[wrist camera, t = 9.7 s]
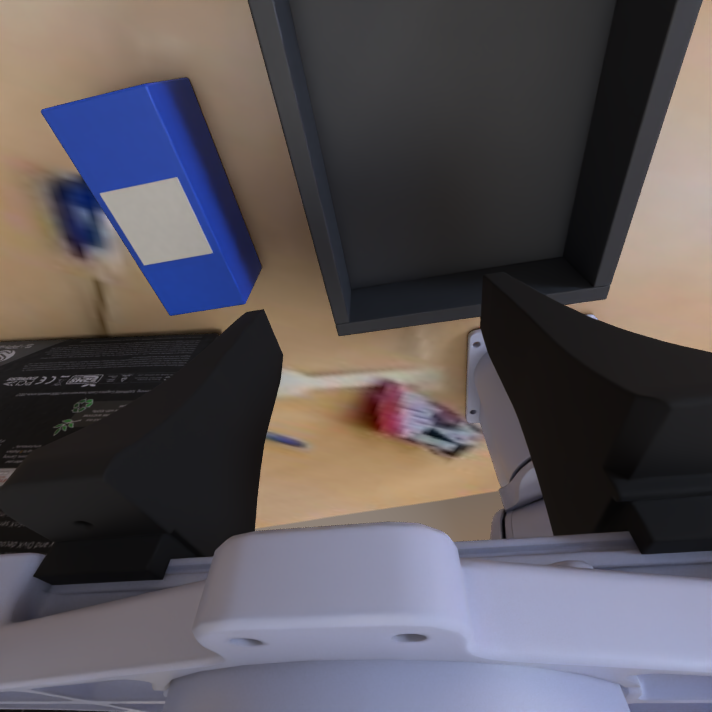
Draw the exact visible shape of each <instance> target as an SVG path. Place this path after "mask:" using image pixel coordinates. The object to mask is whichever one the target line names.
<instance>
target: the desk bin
mask: <svg viewBox="0 0 712 712" xmlns="http://www.w3.org/2000/svg"><path fill="white" fill-rule="evenodd" d="M702 1H703V0H248V3H249V7H250V11H251V14H252V18H253V22H254V25H255V29H256V33H257V37H258V40H259V44H260V48H261V51H262V55H263V59H264V62H265V66H266V70H267V73H268V77H269V81H270V85H271V88H272V92H273V96H274V99H275V103H276V107H277V110H278V114H279V118H280V122H281V125H282V129H283V133H284V136H285V140H286V144H287V147H288V151H289V155H290V158H291V162H292V166H293V170H294V173H295V177H296V181H297V184H298V188H299V192H300V195H301V199H302V203H303V207H304V210H305V214H306V218H307V221H308V225H309V229H310V232H311V236H312V240H313V244H314V247H315V251H316V255H317V258H318V262H319V266H320V269H321V273H322V277H323V280H324V284H325V288H326V292H327V295H328V299H329V303H330V306H331V310H332V314H333V317H334V321H335V324H336V329H337V332H338V335H339V336H344V335H351V334H358V333H366V332H373V331H380V330H387V329H394V328H402V327H409V326H416V325H423V324H430V323H437V322H445V321H452V320H459V319H466V318H473V317H481V301H482V280H483V275H486V274H492V273H498V272H505V273H507V274H509V275H511V276H512V277H514V278H516V279H518V280H519V281H521V282H523V283H525V284H526V285H528V286H530V287H531V288H533V289H535V290H537V291H538V292H540V293H542V294H544V295H546V296H548V297H549V298H551V299H553V300H555V301H557V302H559V303H561V304H563V305H567V304H574V303H581V302H589V301H596V300H603V299H606V298H607V295H608V292H609V289H610V284H611V282H612V279H613V276H614V273H615V270H616V267H617V264H618V261H619V258H620V254H621V251H622V248H623V245H624V242H625V239H626V236H627V233H628V230H629V227H630V224H631V220H632V217H633V214H634V211H635V208H636V205H637V202H638V199H639V196H640V193H641V189H642V186H643V183H644V180H645V177H646V174H647V171H648V168H649V165H650V162H651V158H652V155H653V152H654V149H655V146H656V143H657V140H658V137H659V134H660V131H661V128H662V124H663V121H664V118H665V115H666V112H667V109H668V106H669V103H670V100H671V97H672V93H673V90H674V87H675V84H676V81H677V78H678V75H679V72H680V69H681V66H682V63H683V59H684V56H685V53H686V50H687V47H688V44H689V41H690V38H691V35H692V32H693V28H694V25H695V22H696V19H697V16H698V13H699V10H700V7H701V4H702Z"/></svg>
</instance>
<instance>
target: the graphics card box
mask: <svg viewBox="0 0 712 712" xmlns="http://www.w3.org/2000/svg"><path fill="white" fill-rule="evenodd" d="M217 337H219V335H218V334H217V333H212V334H190V335H166V336H140V337H138V336H136V337H119V338H118V337H115V338H87V339H65V340H37V341H14V342H0V488H1V486H2V485H3V484H4V483H5V482H6V480H7V479H8V478H9V477H10V476H11V474H12V473H13V472H14V471H15V470H16V468H17V467H18V466H19V465H20V464H21V462H22V461H23V460H24V459H25V458H26V457H27V455H28V454H29V453H30V452H32V451H33V450H35V449H37V448H40V447H42V446H45V445H47V444H49V443H51V442H54V441H56V440H58V439H60V438H63V437H65V436H67V435H69V434H71V433H74V432H76V431H78V430H80V429H82V428H84V427H86V426H88V425H90V424H92V423H94V422H96V421H98V420H100V419H102V418H104V417H106V416H108V415H110V414H112V413H113V412H115V411H117V410H119V409H121V408H122V407H124V406H126V405H127V404H129V403H131V402H132V401H134V400H136V399H137V398H139V397H141V396H142V395H144V394H145V393H147V392H149V391H150V390H152V389H153V388H155V387H156V386H158V385H159V384H161V383H162V382H164V381H165V380H166V379H168V378H169V377H171V376H172V375H173V374H175V373H176V372H177V371H179V370H180V369H181V368H183V367H184V366H185V365H186V364H187V363H189V362H190V361H191V360H192V359H193V358H195V357H196V356H197V355H198V354H199V353H201V352H202V351H203V350H204V349H205V348H206V347H208V346H209V345H210V344H211V343H212V342H213V341H214V340H215V339H216V338H217ZM53 544H54V542H52V541H51V540H49V539H47V538H45V537H43V536H42V535H40V534H38V533H36V532H35V531H33V530H31V529H29V528H27V527H26V526H24V525H22V524H20V523H19V522H17V521H15V520H14V519H12V518H11V517H9V516H8V515H6V514H5V513H4V512H3V511H2V510H1V509H0V555H2V554H16V553H39V554H43V555H47V553H48V552H49V550H50V548H51V547H52V545H53ZM0 712H112V711H81V710H39V709H0Z"/></svg>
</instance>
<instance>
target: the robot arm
mask: <svg viewBox="0 0 712 712" xmlns="http://www.w3.org/2000/svg"><path fill="white" fill-rule="evenodd" d="M474 342H478V343H477V344H473V343H474ZM282 362H283V354H282V351H281V349H280V347H279V344H278V342H277V339H276V337H275V335H274V332H273V330H272V328H271V325H270V323H269V321H268V318H267V316H266V314H265V311H264V309H263V310H257V311H250V312H246V313H245V314H244V315H242V316H241V317H240V318H239V319H237V320H236V321H235V322H234V323H233V324H232V325H231V326H229V327H228V328H227V329H226V330H225V331H224V332H223V333H222V334H221V335H220V336H219V337H217V338H216V339H215V340H214V341H213V342H212V343H211V344H210V345H209V346H208V347H206V348H205V349H204V350H203V351H202V352H201V353H199V354H198V355H197V356H196V357H195V358H193V359H192V360H191V361H190V362H189V363H187V364H186V365H185V366H184V367H183V368H181V369H180V370H179V371H177V372H176V373H175V374H173V375H172V376H171V377H169V378H168V379H166V380H165V381H164V382H162V383H161V384H159V385H158V386H156V387H155V388H153V389H152V390H150V391H149V392H147V393H145V394H144V395H142V396H141V397H139V398H137V399H136V400H134V401H132V402H131V403H129V404H127V405H126V406H124V407H122V408H121V409H119V410H117V411H115V412H113V413H112V414H110V415H108V416H106V417H104V418H102V419H100V420H98V421H96V422H94V423H92V424H90V425H88V426H86V427H84V428H82V429H80V430H78V431H76V432H74V433H71V434H69V435H67V436H65V437H63V438H60V439H58V440H56V441H54V442H51V443H49V444H47V445H45V446H42V447H40V448H37V449H35V450H33V451H32V452H30V453H29V454H28V455H27V457H26V458H25V459H24V460H23V461H22V462H21V464H20V465H19V466H18V467H17V468H16V470H15V471H14V472H13V473H12V474H11V476H10V477H9V478H8V479H7V480H6V482H5V483H4V484H3V485H2V486H1V488H0V509H1V510H2V511H3V512H4V513H5V514H6V515H8V516H9V517H11V518H12V519H14V520H15V521H17V522H19V523H20V524H22V525H24V526H26V527H27V528H29V529H31V530H33V531H35V532H36V533H38V534H40V535H42V536H43V537H45V538H47V539H49V540H51V541H52V542H54V544H53V545H52V547H51V548H50V550H49V552H48V553H47V555H43V554H39V553H16V554H2V555H0V709H39V710H81V711H112V712H712V353H711V352H707V351H702V350H698V349H693V348H689V347H684V346H680V345H676V344H672V343H668V342H664V341H660V340H657V339H653V338H650V337H647V336H643V335H640V334H636V333H633V332H630V331H627V330H624V329H621V328H618V327H615V326H612V325H610V324H607V323H604V322H602V321H599V320H598V319H597V318H596V317H595V316H594V315H590V314H589V315H584V314H582V313H580V312H578V311H576V310H574V309H571V308H569V307H567V306H565V305H563V304H561V303H559V302H557V301H555V300H553V299H551V298H549V297H548V296H546V295H544V294H542V293H540V292H538V291H537V290H535V289H533V288H531V287H530V286H528V285H526V284H525V283H523V282H521V281H519V280H518V279H516V278H514V277H512V276H511V275H509V274H507V273H505V272H498V273H492V274H486V275H483V280H482V301H481V322H480V329H478V330H473V331H472V332H470V333H469V335H468V354H467V387H466V420H467V422H468V423H480V425H481V428H482V431H483V434H484V437H485V440H486V444H487V447H488V450H489V453H490V456H491V459H492V462H493V466H494V469H495V472H496V475H497V478H498V481H499V483H500V486H501V488H500V489H499V493H500V496H501V499H502V503H503V506H504V509H501V510H499V511H498V512H496V513H495V515H494V517H493V521H492V525H491V536H490V540H477V541H461V542H453V541H452V540H451V539H450V537H449V536H448V535H447V534H445V533H444V532H443V531H440V530H438V529H435V528H432V527H429V526H427V525H424V524H421V523H407V522H377V523H363V524H348V525H335V526H319V527H305V528H291V529H276V530H264V531H263V530H262V531H255V521H256V508H257V497H258V488H259V479H260V470H261V463H262V456H263V449H264V443H265V439H266V434H267V430H268V426H269V422H270V419H271V415H272V411H273V407H274V404H275V400H276V396H277V392H278V388H279V384H280V380H281V372H282Z"/></svg>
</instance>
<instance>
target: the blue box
mask: <svg viewBox="0 0 712 712" xmlns="http://www.w3.org/2000/svg"><path fill="white" fill-rule="evenodd" d="M41 113H42V115H43V116H44V118H45V119H46V121H47V123H48V124H49V126H50V127H51V129H52V130H53V132H54V134H55V135H56V137H57V138H58V140H59V142H60V143H61V145H62V146H63V148H64V149H65V151H66V153H67V154H68V156H69V157H70V159H71V160H72V162H73V164H74V165H75V167H76V168H77V170H78V172H79V173H80V175H81V176H82V178H83V179H84V181H85V183H86V184H87V186H88V187H89V189H90V190H91V192H92V194H93V195H94V197H95V198H96V200H97V201H98V203H99V205H100V206H101V208H102V209H103V211H104V213H105V214H106V216H107V217H108V219H109V220H110V222H111V224H112V225H113V227H114V228H115V230H116V231H117V233H118V235H119V236H120V238H121V239H122V241H123V243H124V244H125V246H126V247H127V249H128V250H129V252H130V254H131V255H132V257H133V258H134V260H135V261H136V263H137V265H138V266H139V268H140V269H141V271H142V272H143V274H144V276H145V277H146V279H147V280H148V282H149V284H150V285H151V287H152V288H153V290H154V291H155V293H156V295H157V296H158V298H159V299H160V301H161V302H162V304H163V306H164V307H165V309H166V310H167V312H168V314H169V315H170V316H172V315H179V314H185V313H191V312H198V311H204V310H211V309H217V308H223V307H230V306H236V305H243V304H245V303H246V301H247V299H248V297H249V295H250V293H251V290H252V288H253V286H254V284H255V282H256V280H257V277H258V275H259V273H260V271H261V269H262V267H261V264H260V261H259V259H258V256H257V254H256V251H255V249H254V246H253V243H252V241H251V238H250V236H249V233H248V230H247V228H246V225H245V223H244V220H243V218H242V215H241V212H240V210H239V207H238V205H237V202H236V200H235V197H234V194H233V192H232V189H231V187H230V184H229V182H228V179H227V176H226V174H225V171H224V169H223V166H222V163H221V161H220V158H219V156H218V153H217V151H216V148H215V145H214V143H213V140H212V138H211V135H210V133H209V130H208V127H207V125H206V122H205V120H204V117H203V115H202V112H201V109H200V107H199V104H198V102H197V99H196V96H195V94H194V91H193V89H192V86H191V84H190V81H189V79H188V78H179V79H172V80H166V81H159V82H153V83H146V84H141V85H137V86H133V87H129V88H125V89H121V90H117V91H113V92H109V93H105V94H101V95H97V96H93V97H89V98H85V99H81V100H77V101H73V102H69V103H65V104H61V105H57V106H53V107H49V108H45V109H42V110H41Z"/></svg>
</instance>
